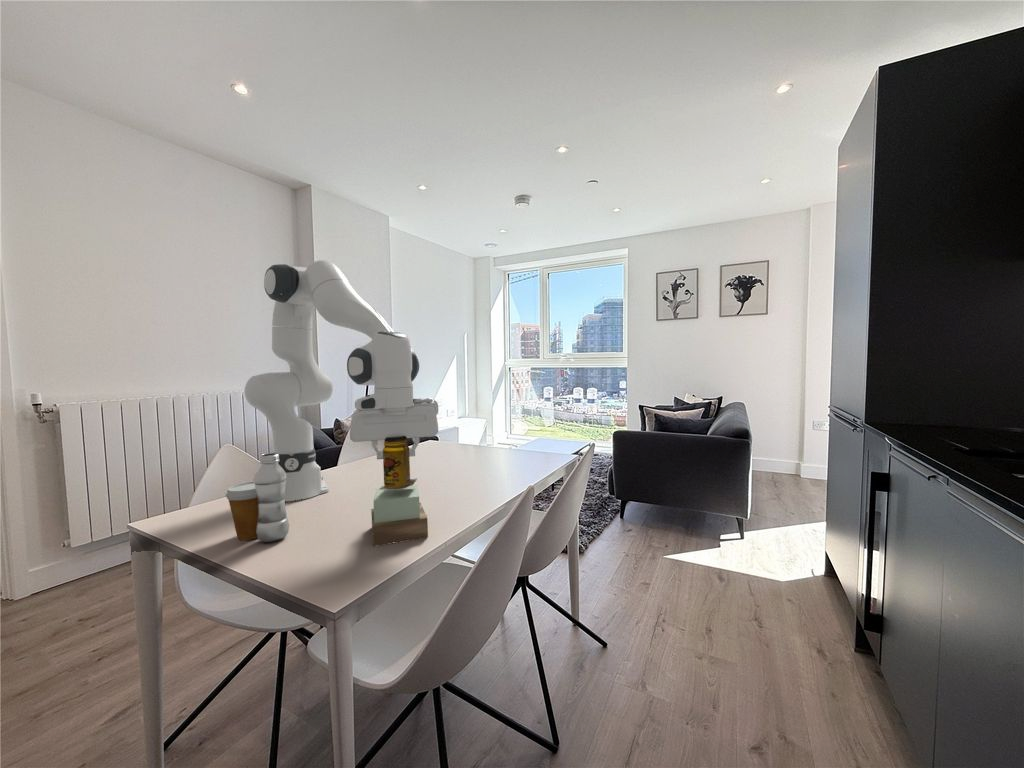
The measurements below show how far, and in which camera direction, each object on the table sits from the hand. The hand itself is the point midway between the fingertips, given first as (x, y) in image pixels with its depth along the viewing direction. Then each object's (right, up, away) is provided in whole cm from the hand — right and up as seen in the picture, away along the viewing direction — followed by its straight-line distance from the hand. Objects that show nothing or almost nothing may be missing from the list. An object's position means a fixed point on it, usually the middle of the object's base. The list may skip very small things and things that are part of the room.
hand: (396, 457), depth 99 cm
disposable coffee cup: (-35, -19, +1) cm, 39 cm away
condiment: (+1, -7, 0) cm, 7 cm away
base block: (+1, -18, +1) cm, 18 cm away
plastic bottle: (-28, -19, -2) cm, 34 cm away
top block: (0, -13, 0) cm, 13 cm away
